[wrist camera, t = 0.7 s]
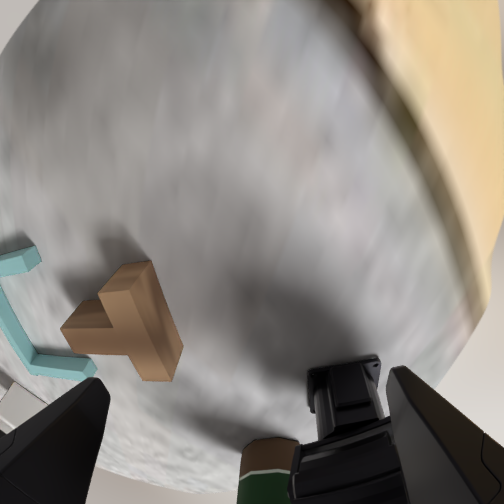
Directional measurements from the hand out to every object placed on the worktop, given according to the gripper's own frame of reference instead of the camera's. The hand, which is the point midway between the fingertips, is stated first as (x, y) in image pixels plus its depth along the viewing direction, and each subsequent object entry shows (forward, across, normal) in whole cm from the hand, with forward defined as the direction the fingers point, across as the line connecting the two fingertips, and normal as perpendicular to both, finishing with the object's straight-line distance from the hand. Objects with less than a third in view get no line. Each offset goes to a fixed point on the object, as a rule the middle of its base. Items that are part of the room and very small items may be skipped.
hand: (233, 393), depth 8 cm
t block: (+12, +11, +5) cm, 17 cm away
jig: (+12, +23, +5) cm, 27 cm away
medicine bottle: (+13, +39, +23) cm, 47 cm away
